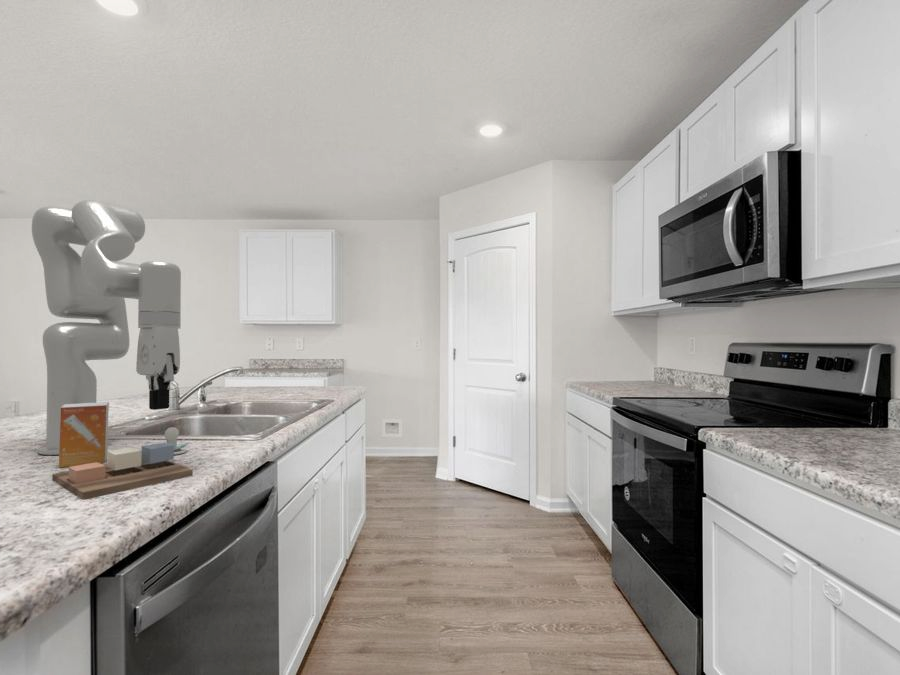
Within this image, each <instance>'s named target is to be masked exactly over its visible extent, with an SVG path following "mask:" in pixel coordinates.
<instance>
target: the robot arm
mask: <svg viewBox="0 0 900 675" xmlns="http://www.w3.org/2000/svg"><path fill="white" fill-rule="evenodd" d="M145 233H146V224H145V220H144V218H143V217H142V215H141V213H139V212H138V211H137V210H135V209H133V208H129V207H126V206H121V205H117V204H112V203H110V202H109V203H108V202H104V201H101V200H96V199H94V200H93V199H87V200H86V199H85V200H81V201H79V202H77V203H76V204H74V205H73V207H72V209H71V208H67V207H63V206H62V207H61V206H44V207H40V208H39V209H37V210H36V211H35V212H34V214H33V216H32V220H31V234H32V236H31V237H32V239H33V243H34V245H35V249H36V251H37V252H38V256H39V258H40V259H41V262H42V263H41V264H42V266H43V275H44V285H45V288H44V289H45V295H46V303H47V304H46V305H47V308H48V310H49V312H50V314H52V315H53V316H55V317H58V318H64V319H65V318H66V319H79V320H80V319H81V320H97V321H98V322H97V323H96V322H79V321H78V322H76V321H68V322H67V321H65V322H58V323H54V324H51V325H50V326H48V327H47V328H46V329H44V332H43V334H42V347H43V352H44V356H45V363H46V382H47V383H46V426H45V427H46V430H45V432H46V434H45V438H46V439H45V443H46V444H44V445H41V446H38V447H37V450H36V451H37V454H39V455H44V456H46V455H47V456H53V455H54V456H59V441H60V413H61V407H62V406H63V405H64V404H80V403H97V386H98V385H97V384H98V383H97V376H96V373H95V372H94V370H93V369H92V368H91V367H90V366H89V364H87V362H86V361H102V360H103V361H104V360H105V361H106V360H118V359H121V358H124V357H125V356H126V355H127V354H128V352H129V349H130V332H129V322H128V314H127V307H126V306H127V305H126V301H125V299H133V300H138V306H137V307H138V308H137V310H138V313H137V314H138V316H137V317H138V321H137V322H138V323H137V324H138V325H137V328H139V334H138V340H137V351H136V352H137V353H136V373H137V374H139V376H140V375H141V376H145V378H146V380H147V381H148V383H147V384H148V394H149V397H148V400H149V401H148V402H149V403H148V404H149V405H148V409H150V410H154V411H155V410H156V411H158V410H165V409H166V410H167V409H169V408H170V389H171V382H174V381H175V375H177V374H178V373H179V372H180V370H181V369H180V366H181V347H180V346H181V345H180V334H179V329H181V322H182V321H181V320H182V318H181V311H182V310H181V306H182V305H181V302H182V301H181V297H182V296H181V293H182V292H181V290H182V285H181V284H182V283H181V282H182V281H181V280H182V278H181V277H182V273H181V269H180V267H179V266H178V265H177V264H175V263H171V262H166V261H156V260H155V261H154V260H151V261H145V262H142V263H141V264H137V263H131V262H130V263H129V262H126V261H125V262H123V261H122V260H124V259H126V258H128V257H129V256H131V255H132V253H133V252H134V251H135V248H136V243H138V242H140V241H141V240H142V239H143V237H144V235H145ZM70 244H73V245H79V246H84V248H83V251H82V253H81V255H80V254H79V253H78V252H77V251H76V250H75V249H74V248H73V247H72V246H70Z"/></svg>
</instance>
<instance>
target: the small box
mask: <svg viewBox="0 0 900 675" xmlns="http://www.w3.org/2000/svg"><path fill="white" fill-rule="evenodd" d="M109 408H110V401H104V402H103V401H102V402H96V403H80V404H64V405H63V406H62V407H61V413H60V441H59V455H58V467H59V468H64V467H65V468H66V467H67V468H68V467H72V466H77V465H83V464H89V463H95V462H98V463H100V464H106V462H107V451H109V446H108V445H109V443H108V442H109V410H110V409H109Z"/></svg>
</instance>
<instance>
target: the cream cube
mask: <svg viewBox="0 0 900 675" xmlns="http://www.w3.org/2000/svg"><path fill="white" fill-rule="evenodd" d="M141 452H142V449H138V448H135V447H126V448H121V449H113V450H108V451H107V458H106V464H107V467H109V468H111V469H113V470H120V469H125V468H131V467H136V466H141Z"/></svg>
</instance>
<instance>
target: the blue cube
mask: <svg viewBox="0 0 900 675" xmlns="http://www.w3.org/2000/svg"><path fill="white" fill-rule="evenodd" d="M174 456H175V455H174V445H172V444H168V443H167V442H166V441H164V442H160V443H159V442H158V443H153V444H146V445H141V460H142V461H144V462H147V463H149V464H152V463H157V462H163V461H173V460H174V459H175V457H174Z"/></svg>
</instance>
